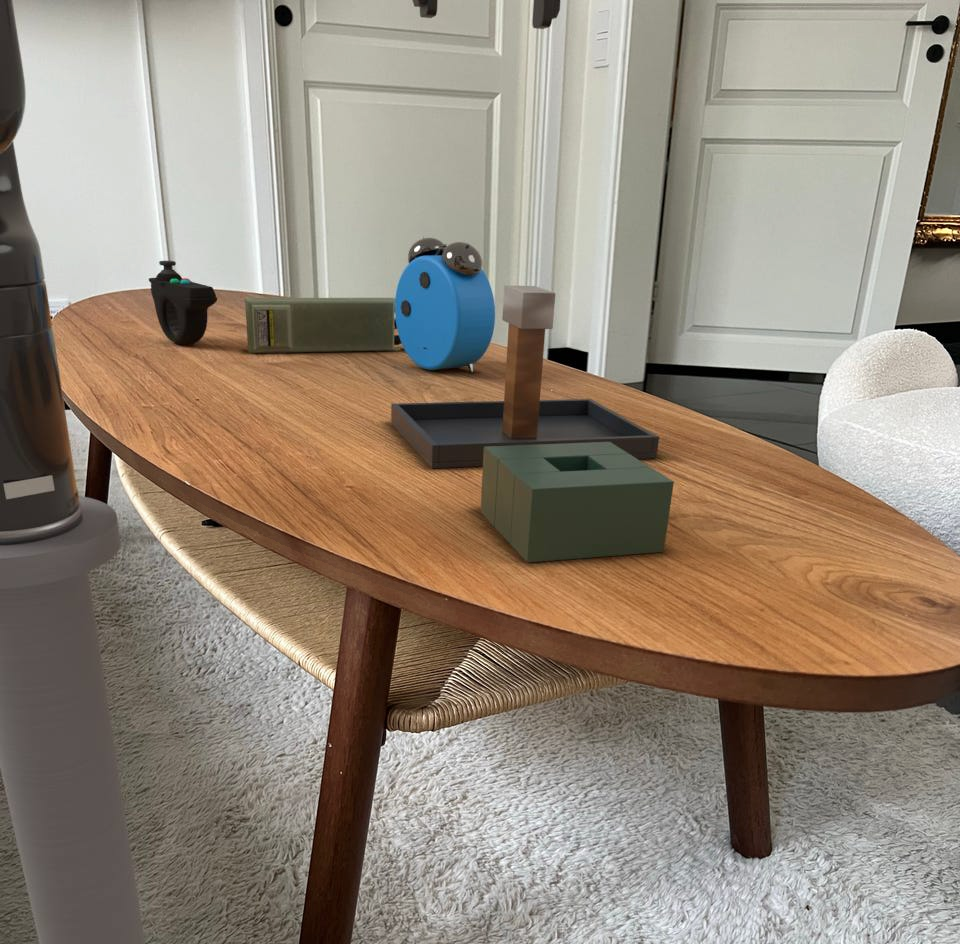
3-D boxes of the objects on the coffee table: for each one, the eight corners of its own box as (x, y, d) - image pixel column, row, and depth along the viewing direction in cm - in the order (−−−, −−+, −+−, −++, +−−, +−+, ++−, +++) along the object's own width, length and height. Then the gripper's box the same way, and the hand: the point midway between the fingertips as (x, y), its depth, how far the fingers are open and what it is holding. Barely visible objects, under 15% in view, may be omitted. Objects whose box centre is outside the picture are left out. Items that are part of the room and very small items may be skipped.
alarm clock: (493, 376, 115) (501, 244, 108) (454, 380, 111) (459, 244, 104) (429, 358, 124) (432, 235, 117) (391, 361, 120) (392, 235, 113)
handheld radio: (247, 349, 123) (428, 346, 131) (250, 355, 120) (435, 351, 128) (243, 296, 119) (429, 296, 128) (247, 300, 117) (437, 300, 125)
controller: (180, 336, 129) (172, 258, 124) (225, 351, 121) (219, 268, 117) (150, 338, 126) (141, 259, 122) (194, 353, 118) (187, 269, 114)
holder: (527, 562, 61) (532, 489, 59) (480, 512, 69) (483, 446, 67) (663, 552, 64) (674, 481, 61) (602, 505, 72) (610, 441, 70)
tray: (431, 468, 79) (432, 445, 78) (391, 423, 91) (391, 403, 91) (656, 458, 85) (659, 436, 84) (589, 417, 98) (590, 398, 97)
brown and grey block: (513, 442, 85) (523, 292, 80) (495, 429, 90) (504, 285, 84) (543, 441, 86) (555, 293, 80) (525, 428, 91) (535, 285, 85)
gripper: (578, -241, 65) (558, 37, 72) (376, -280, 60) (376, 19, 68) (626, -283, 58) (598, 26, 66) (403, -331, 54) (400, 5, 61)
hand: (485, 22), depth 67 cm, fingers open, 8 cm apart
